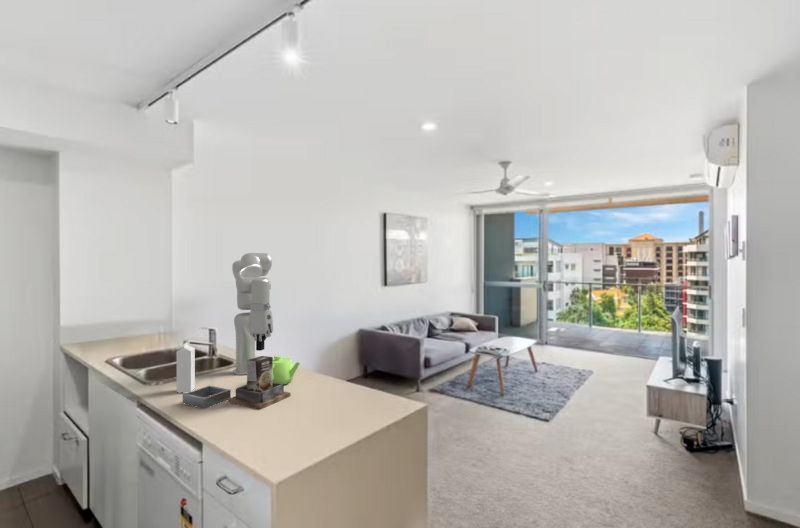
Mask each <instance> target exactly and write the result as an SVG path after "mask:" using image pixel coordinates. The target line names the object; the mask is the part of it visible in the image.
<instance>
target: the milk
mask: <svg viewBox="0 0 800 528" xmlns="http://www.w3.org/2000/svg"><path fill="white" fill-rule="evenodd" d="M195 355H196V349H195V347H193V346H191V345H189V342H188V341H186V342H185V343H183V347H181V348H180V349H178V350H177V351H176V393H177V392H191V391H192V390H193V389H194V388H195V389H196V369H195V368H196V360H195V359H196V356H195ZM195 389H194V390H195ZM194 390H193V391H194Z"/></svg>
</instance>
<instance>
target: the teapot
mask: <svg viewBox="0 0 800 528" xmlns="http://www.w3.org/2000/svg"><path fill="white" fill-rule="evenodd" d="M300 365H301V362H297V361H296V362H295V364H293V360H292V358H289V357H288V356H281V355H275V356H273V371H272V382H276V383H281V384H284V385H287V384H288V383H290V382H292V380H293V379H294V376H295V373H296V371H297V370H298V368H299V366H300Z"/></svg>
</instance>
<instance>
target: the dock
mask: <svg viewBox="0 0 800 528" xmlns="http://www.w3.org/2000/svg"><path fill="white" fill-rule="evenodd" d="M284 385H285V384H281V383H276V382H272V388H271V389H268V390H266V391H263V392H261V393H260V392H255V391H250V390H247V384H245V385H242V386H241V385H240V386H239V387H236V388H235V396H231V398H229V399H228V400H227V403H228V402H230V403H229V404H233V403H234V404H233V405H237V404H239V405H238V406H242V405H243V406H242V407H246V406H247V408H252V409H257V410H262V409H265V408H267V407H270V406H271V405H274V404H276V403H278V402H280V401H282V400H285V399H287V398H290V397H291V396H292V394H291V392H289V391H284V390H285V389H284V388H285V387H284Z"/></svg>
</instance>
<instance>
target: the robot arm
mask: <svg viewBox="0 0 800 528" xmlns="http://www.w3.org/2000/svg"><path fill="white" fill-rule="evenodd" d="M231 265H232V267H231V269H232V275H233V277H234V280H235V286H236V303H237V308H238V310H240V311H249V312H241V313H238V314H236V315H235V316H234V319H233V322H234V329H235V368H234V369H233V370H232V374H233V375H237V376H243V375H244V376H247V360H249V359H253V358H256V351H259V352H260V351H264V350H265V341H266V340H267V338H270V337H271V336H272V333H273V332H274V323H273V321H274V320H273V314H272V310H270V309H271V304H270V291H271V289H272V283H271V281H270V280H269V278H267V277H265V276H267V275H268V274H269V272H270V270H271V269H272V266H273V259H272V256H271V255H270V254H269V253H267V252H266V253H265V252H248V253H245V254H243V255H242V256H241V258H240V260H236V261H234V262H232V264H231Z"/></svg>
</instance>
